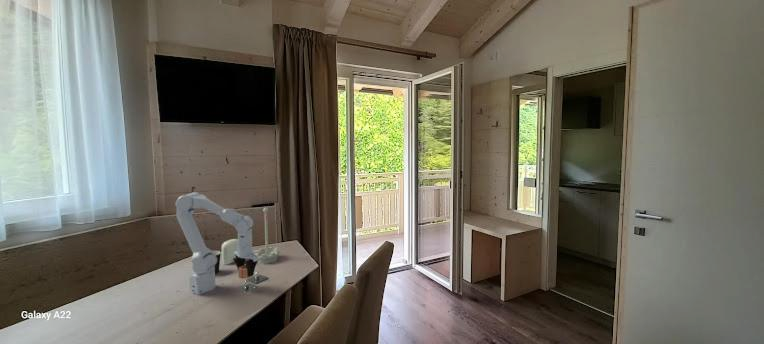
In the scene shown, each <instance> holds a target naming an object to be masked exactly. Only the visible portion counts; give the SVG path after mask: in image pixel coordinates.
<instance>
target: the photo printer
mask: <svg viewBox="0 0 764 344" xmlns="http://www.w3.org/2000/svg"><path fill="white" fill-rule="evenodd" d="M220 249H221V263H222V265H225V266H227V265H230V264H233V263H235V262H234V260H233V258H236V256H233V252H234V251H238V238H232V239H228V240H226V241H224V242H223V243H222V244H221V248H220Z"/></svg>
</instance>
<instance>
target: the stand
mask: <svg viewBox="0 0 764 344" xmlns="http://www.w3.org/2000/svg"><path fill="white" fill-rule="evenodd" d="M258 287H259V286H258V285H257V284H254V283H251V282H249V281H248V280H247V279H245V280H244V284H243V285H241V286H238V287H236V288H235V290H237V291H238V292H243V293H244V294H245V293H247V292H250V291H252V290H254V289H257V288H258Z"/></svg>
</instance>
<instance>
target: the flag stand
mask: <svg viewBox="0 0 764 344" xmlns="http://www.w3.org/2000/svg"><path fill="white" fill-rule="evenodd" d="M269 210H270V209H269V208H268V207H264V208H263V209H262V212H263V213H264V239H265V240H264V241H265V242H264V243H265V248H264V247H261V248H258V249H256V250H254V254H255V255H256V256H258V262H257V264H262V263H264V264H270V263H271V262H272V263H275V262H276V261H277V260H278V259H279V257H278V256H279V255H280V249H279V247H274V248H273V246H269V225H268V224H269V223H268V221H269V219H268V213H269ZM274 261H275V262H274ZM272 263H271V264H272Z"/></svg>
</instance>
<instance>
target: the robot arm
mask: <svg viewBox="0 0 764 344" xmlns="http://www.w3.org/2000/svg"><path fill="white" fill-rule="evenodd" d="M174 205H175V208H176V212H175V213H176V215H175V216H176V219H177V222H178V223H179V226H180V228H181V230H182V232H183V234H184V236H185V239H186V241H187V244H188V246H189V248H190V250H191V253H192V256H191V260H190V261H191V263H192V270H193V272H194V274H193V275H190V277H189V293H192V294H193V295H196V296H199V295H201V294H202V295H203V294H205V293H207V292H211V291H213V290H215V288H216V274H215V264H216V263H217V257H216V255H214V254H213V253H212V251H213V250H212V249H210V248H208V247H207V245H206V244H205V241H204V239H203V237H202V235H201V232H200V230H199V228H198V226H197V224H196V222H195V219H194V217H193V215H194V213H195V210H197V209H202V208H203V209H205V210H207V211H209V212H212V213H213V214H215V215H217V216H219V217H220V219H221V220H222V221H223V222H225V223H227V224H229V225H231V226H233V227H234V228H235V230H236V231H237V239H238V251H234V252H233V256H236V258H233V260H234V262H233V263H234V264H235V265H236V268H237V271H238V272H239V270H238V268H239V267H240V266H243V265H246V267H247V271H248V276H252V275H253V274H254V273H255V269H256V265H257V264H258V256H256V255H255V250H254V251H253V233H252V232H253V231H252V230H253V228H252V227H253V226H254V220H253V218H252V217H251V216H250V215H245V214H241V213H238V212H237V211H235V208H231V207H230V208H228V207H227V208H224V207H223V206H221V205H219V204H217V203H216V202H215V201H213V200H211V199H209V198H208V197H207V196H206V195H205V194H201V193H200V192H197V191H193V192H191V193H187V194H183V195H180V196H179V197H178V198H177V199H176V201H175V202H174ZM253 276H254V275H253ZM253 276H252V277H253Z"/></svg>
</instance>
